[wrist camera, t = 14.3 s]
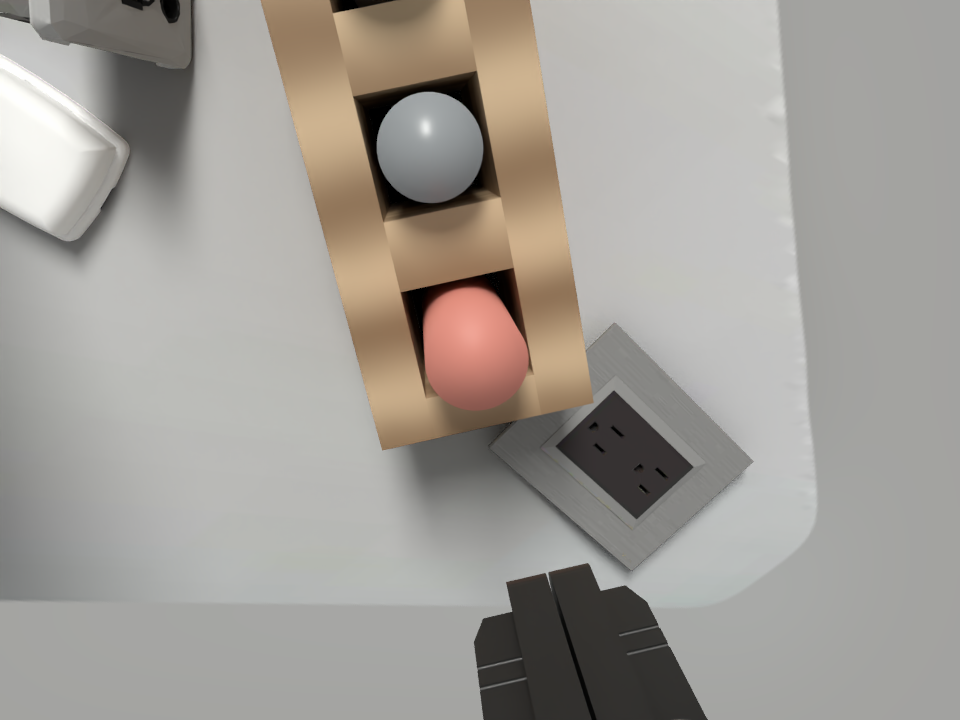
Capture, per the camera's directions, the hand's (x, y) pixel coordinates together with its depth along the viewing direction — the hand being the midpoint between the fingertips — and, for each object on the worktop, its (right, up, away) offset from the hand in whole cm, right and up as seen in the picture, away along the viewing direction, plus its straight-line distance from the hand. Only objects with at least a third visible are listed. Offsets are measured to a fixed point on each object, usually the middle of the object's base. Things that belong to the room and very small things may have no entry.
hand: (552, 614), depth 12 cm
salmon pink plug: (-2, +7, +24) cm, 25 cm away
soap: (-25, +16, +24) cm, 38 cm away
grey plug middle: (-4, +15, +23) cm, 28 cm away
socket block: (-4, +16, +25) cm, 30 cm away
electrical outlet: (+7, -1, +32) cm, 33 cm away
